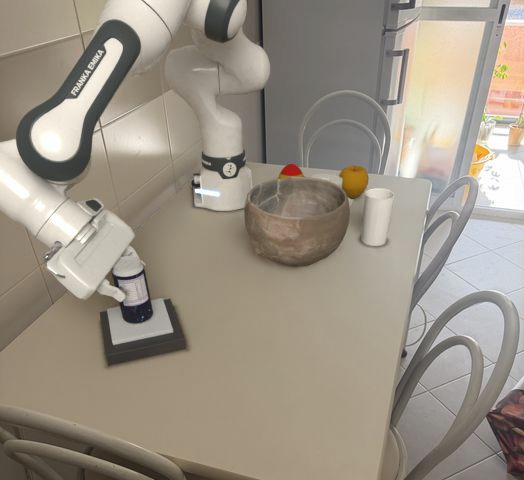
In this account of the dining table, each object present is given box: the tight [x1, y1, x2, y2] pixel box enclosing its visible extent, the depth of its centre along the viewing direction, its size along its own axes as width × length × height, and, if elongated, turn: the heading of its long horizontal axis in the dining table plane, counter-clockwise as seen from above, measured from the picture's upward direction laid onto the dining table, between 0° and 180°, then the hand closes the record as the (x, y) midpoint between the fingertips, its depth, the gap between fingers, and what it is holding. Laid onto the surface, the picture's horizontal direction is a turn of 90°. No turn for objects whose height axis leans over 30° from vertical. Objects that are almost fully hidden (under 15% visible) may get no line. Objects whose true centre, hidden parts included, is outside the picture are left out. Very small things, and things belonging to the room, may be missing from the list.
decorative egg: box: [277, 163, 305, 179], centre depth 139 cm, size 8×8×10 cm
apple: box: [338, 165, 370, 199], centre depth 140 cm, size 9×8×9 cm
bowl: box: [243, 176, 351, 268], centre depth 112 cm, size 24×24×15 cm
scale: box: [99, 297, 187, 367], centre depth 93 cm, size 14×14×3 cm
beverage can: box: [110, 256, 153, 325], centre depth 89 cm, size 6×6×12 cm
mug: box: [360, 187, 396, 247], centre depth 119 cm, size 10×7×12 cm, turn 157°
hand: (134, 283), depth 88 cm, fingers open, 8 cm apart
